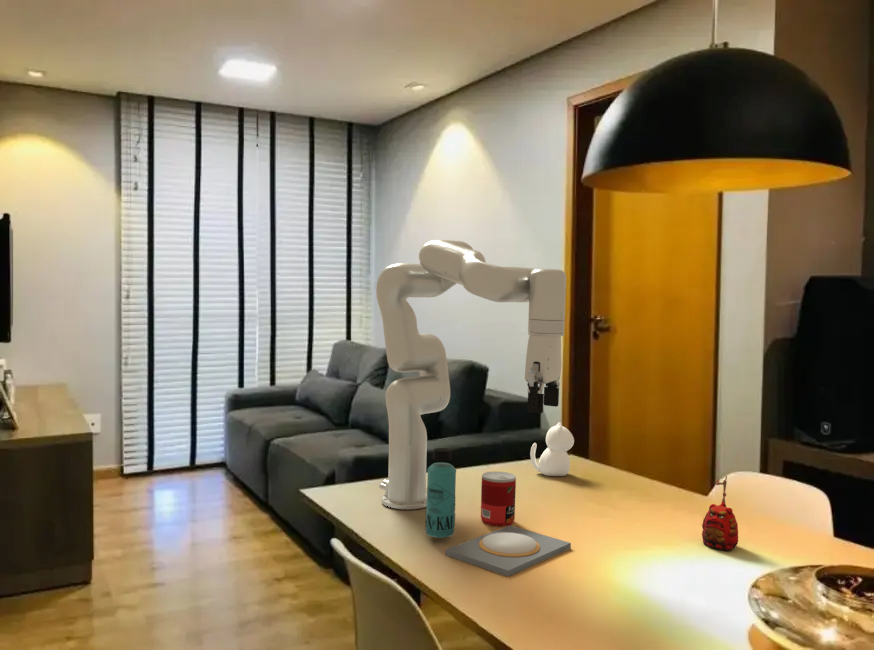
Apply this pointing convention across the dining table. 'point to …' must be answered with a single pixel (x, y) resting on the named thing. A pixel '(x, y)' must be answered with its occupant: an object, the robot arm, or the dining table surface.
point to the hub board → (508, 550)
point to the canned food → (498, 498)
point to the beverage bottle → (441, 495)
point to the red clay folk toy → (720, 525)
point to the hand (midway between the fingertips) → (543, 409)
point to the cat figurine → (554, 452)
